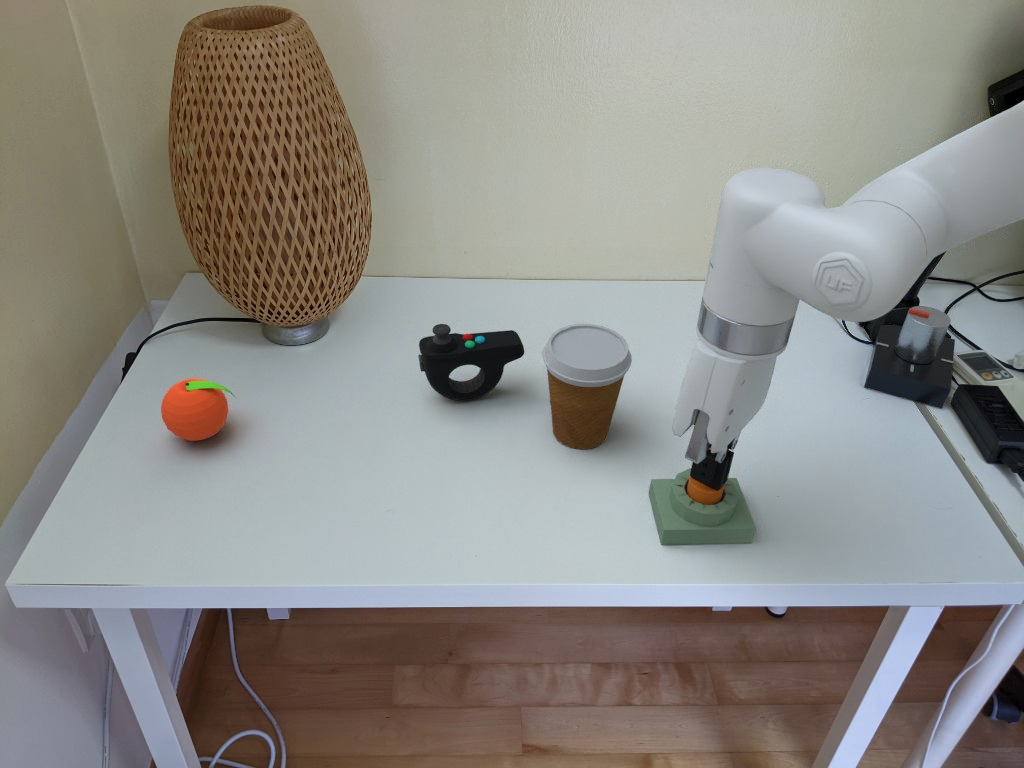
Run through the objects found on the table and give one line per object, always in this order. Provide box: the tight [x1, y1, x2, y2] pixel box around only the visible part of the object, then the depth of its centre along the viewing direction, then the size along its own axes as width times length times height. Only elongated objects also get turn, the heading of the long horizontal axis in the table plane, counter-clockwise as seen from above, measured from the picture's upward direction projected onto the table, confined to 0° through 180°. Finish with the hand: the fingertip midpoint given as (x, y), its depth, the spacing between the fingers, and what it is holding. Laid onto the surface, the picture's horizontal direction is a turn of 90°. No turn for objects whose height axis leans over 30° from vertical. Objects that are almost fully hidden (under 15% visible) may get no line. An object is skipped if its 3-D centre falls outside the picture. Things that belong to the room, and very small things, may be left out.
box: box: [648, 467, 757, 546], centre depth 78 cm, size 9×7×4 cm
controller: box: [418, 323, 525, 401], centre depth 91 cm, size 4×12×10 cm, turn 102°
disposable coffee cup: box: [542, 323, 633, 450], centre depth 85 cm, size 10×10×12 cm
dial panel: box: [863, 324, 956, 410], centre depth 98 cm, size 12×9×3 cm
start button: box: [687, 476, 725, 505], centre depth 76 cm, size 3×3×2 cm
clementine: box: [160, 377, 237, 442], centre depth 86 cm, size 8×7×7 cm
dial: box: [894, 305, 952, 364], centre depth 96 cm, size 5×5×6 cm
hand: (708, 479), depth 75 cm, fingers closed
